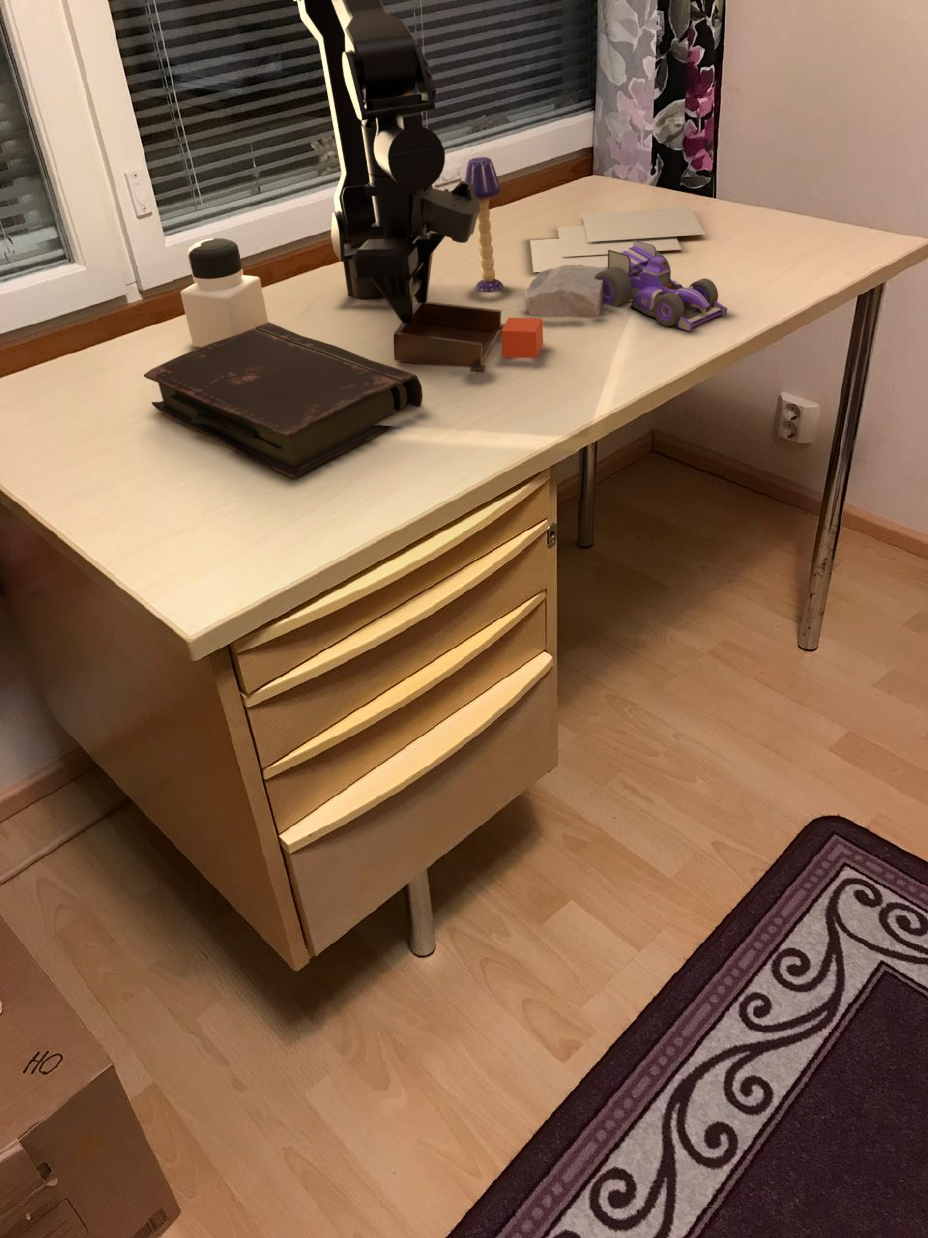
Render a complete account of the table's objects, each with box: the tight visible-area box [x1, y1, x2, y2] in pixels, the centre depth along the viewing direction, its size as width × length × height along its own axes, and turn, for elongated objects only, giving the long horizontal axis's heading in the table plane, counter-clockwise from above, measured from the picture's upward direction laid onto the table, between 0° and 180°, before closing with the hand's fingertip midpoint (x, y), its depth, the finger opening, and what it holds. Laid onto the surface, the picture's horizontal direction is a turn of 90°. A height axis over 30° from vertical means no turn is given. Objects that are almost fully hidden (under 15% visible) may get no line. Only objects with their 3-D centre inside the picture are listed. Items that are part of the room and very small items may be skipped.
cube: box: [500, 317, 544, 359], centre depth 115 cm, size 4×4×4 cm
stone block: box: [524, 265, 608, 318], centre depth 126 cm, size 12×5×10 cm
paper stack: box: [529, 205, 706, 273], centre depth 146 cm, size 23×25×1 cm
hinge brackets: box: [469, 323, 505, 375], centre depth 116 cm, size 2×14×1 cm, turn 166°
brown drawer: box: [392, 276, 502, 368], centre depth 115 cm, size 11×10×7 cm
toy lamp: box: [464, 156, 505, 293], centre depth 128 cm, size 5×5×17 cm
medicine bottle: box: [180, 237, 269, 348], centre depth 123 cm, size 7×7×12 cm
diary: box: [143, 321, 424, 479], centre depth 107 cm, size 19×25×5 cm
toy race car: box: [594, 240, 728, 332], centre depth 122 cm, size 10×15×6 cm, turn 40°
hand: (414, 312), depth 116 cm, fingers closed on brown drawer, 6 cm apart
